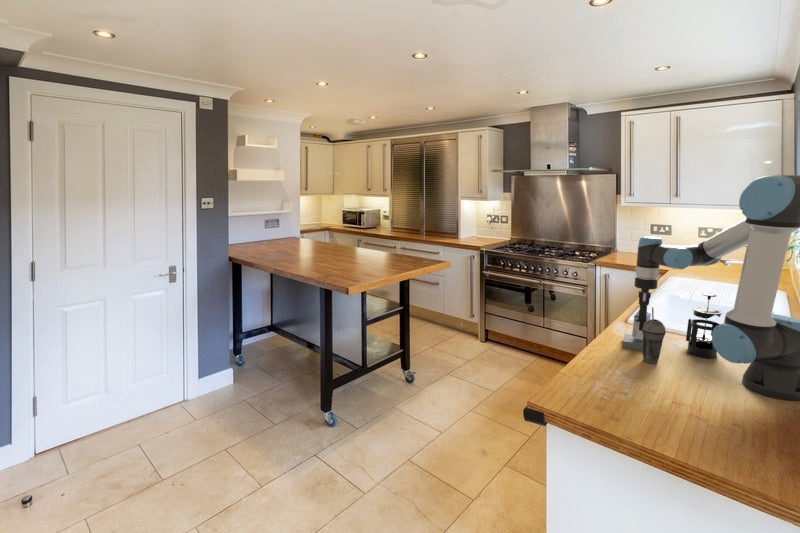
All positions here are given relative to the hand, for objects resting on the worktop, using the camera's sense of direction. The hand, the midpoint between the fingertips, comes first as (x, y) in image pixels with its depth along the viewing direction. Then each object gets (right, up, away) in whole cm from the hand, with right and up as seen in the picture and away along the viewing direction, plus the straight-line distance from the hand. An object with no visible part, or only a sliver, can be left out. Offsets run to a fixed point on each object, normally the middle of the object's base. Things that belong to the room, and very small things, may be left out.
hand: (640, 334), depth 167 cm
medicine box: (0, -1, 0) cm, 1 cm away
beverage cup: (-4, -8, -14) cm, 16 cm away
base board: (0, -5, +1) cm, 5 cm away
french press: (+19, -6, -6) cm, 21 cm away
